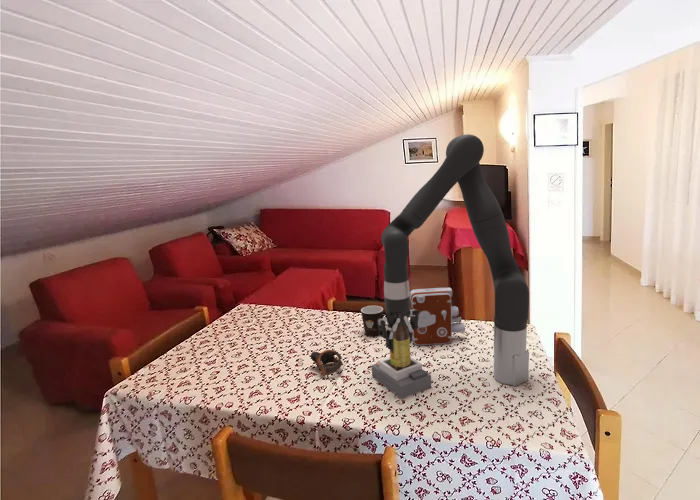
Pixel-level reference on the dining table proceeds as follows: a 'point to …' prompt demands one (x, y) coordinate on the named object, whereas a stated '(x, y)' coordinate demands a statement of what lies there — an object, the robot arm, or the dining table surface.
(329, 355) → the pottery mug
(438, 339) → the cine camera
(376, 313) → the coffee mug
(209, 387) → the dining table surface
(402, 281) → the robot arm
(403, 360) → the sauce bottle
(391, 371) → the retro computer monitor
